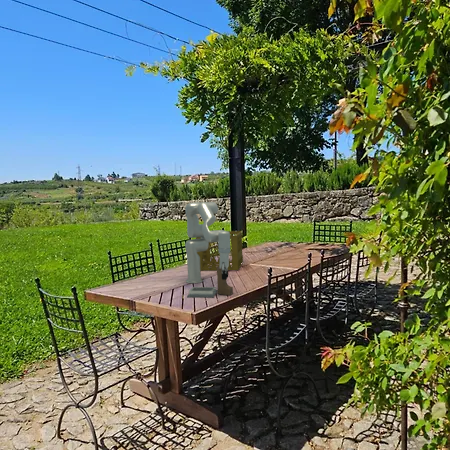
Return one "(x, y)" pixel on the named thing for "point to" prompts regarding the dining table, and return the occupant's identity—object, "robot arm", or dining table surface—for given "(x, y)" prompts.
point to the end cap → (202, 292)
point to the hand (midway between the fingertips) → (225, 278)
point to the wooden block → (223, 284)
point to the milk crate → (236, 253)
